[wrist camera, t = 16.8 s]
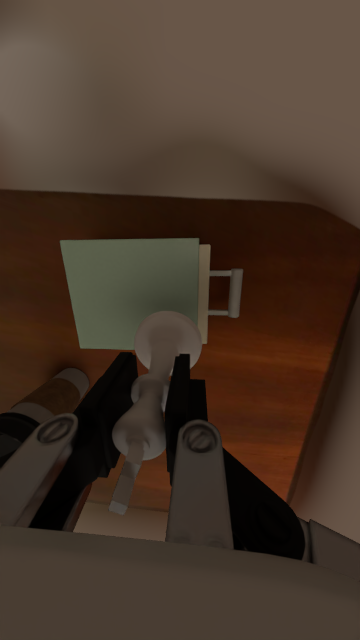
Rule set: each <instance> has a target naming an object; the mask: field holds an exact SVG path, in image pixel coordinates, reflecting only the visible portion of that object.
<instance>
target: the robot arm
mask: <svg viewBox="0 0 360 640" xmlns="http://www.w3.org/2000/svg"><path fill="white" fill-rule="evenodd" d="M137 378H138V372H137V361H136V356H135V355H133V354H132V352H120V354H119V355H118V356H117V357H116V359H115V360H114V361H113V363H112V364H111V365H110V367H109V368H108V369H107V371H106V372H105V373H104V375H103V376H102V377H100V378H99V379H98V381H97V382H96V383H95V385H94V386H93V387H92V389H91V390H90V391H89V392H88V394H87V395H86V396H85V398H84V399H83V400H82V402H81V403H80V404H79V405H78V407H77V408H76V409H75V411H74V412H73V413H72V414H70V413H63V414H59V415H55V416H53V417H51V418H49V419H47V420H45V421H44V422H42V423H41V424H40V425H39V426H38V427H37V428H36V429H35V430H34V431H33V432H32V433H31V435H30V436H29V437H28V438H27V439H26V440H25V441H24V442H23V444H22V445H21V446H20V447H19V448H18V449H16V450H14V451H12V452H10V453H8V454H6V455H4V456H2V457H0V640H360V544H359V543H357V542H355V541H353V540H351V539H349V538H347V537H345V536H343V535H341V534H339V533H337V532H335V531H333V530H331V529H329V528H327V527H325V526H323V525H321V524H319V523H317V522H315V521H313V520H311V519H310V521H309V523H308V522H306V521H305V520H302V519H300V518H299V517H297V516H296V514H295V513H294V511H293V510H292V509H291V508H290V507H289V506H288V504H287V503H286V502H285V501H284V500H282V499H281V498H280V497H279V496H278V495H277V494H276V493H274V492H273V491H272V490H271V489H270V488H269V487H268V486H266V485H265V484H264V483H263V482H262V481H261V480H260V479H258V478H257V477H256V476H255V475H254V474H253V473H252V472H250V471H249V470H248V469H247V468H246V467H245V466H243V465H242V464H241V463H240V462H239V461H238V460H237V459H235V458H234V457H233V456H232V455H231V454H230V453H229V452H227V451H226V450H225V449H224V448H223V447H222V440H221V436H220V432H219V431H218V429H217V428H216V427H215V426H214V425H213V424H211V423H209V422H208V418H207V403H206V388H205V380H197V379H190V354H179V356H175V361H174V366H173V371H172V376H171V381H170V386H169V391H168V396H167V401H166V406H165V434H166V454H167V472H170V485H171V486H172V489H171V497H170V506H169V515H168V523H167V530H166V538H165V542H163V541H153V540H144V539H134V538H124V537H115V536H105V535H95V534H85V533H74V532H73V530H74V528H75V526H76V523H77V521H78V519H79V516H80V514H81V511H82V509H83V507H84V504H85V502H86V500H87V497H88V495H89V493H90V490H91V487H92V482H93V481H95V480H96V479H97V478H98V477H104V478H107V477H108V475H109V472H110V470H111V468H115V466H116V464H117V461H118V459H119V456H120V454H121V452H120V451H119V450H118V449H117V448H116V446H115V444H114V442H113V439H112V430H113V427H114V425H115V424H116V422H117V421H118V420H119V419H120V418H121V416H122V415H123V414H124V413H126V412H127V411H128V410H129V409H130V408H131V407H132V406H133V404H134V403H133V401H132V398H131V387H132V384H133V382H134V381H135V380H136V379H137Z"/></svg>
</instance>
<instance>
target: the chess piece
mask: <svg viewBox="0 0 360 640" xmlns="http://www.w3.org/2000/svg"><path fill="white" fill-rule="evenodd" d="M134 347H135V352H136V354H137V357H138V358H139V360H140V361H141V363H142V364H143V365H144V366H145V367H146V368H148V369H149V373H148V374H145V375H142V376H140V377H138V378H137V379H136V380H135V381H134V382H133V384H132V387H131V398H132V401H133V403H134V404H133V406H132V407H131V408H130V409H129V410H128V411H127V412H126V413H124V414H123V415H122V416H121V418H120V419H119V420H118V421H117V422H116V424H115V425H114V427H113V430H112V439H113V442H114V444H115V446H116V448H117V449H118V450H119V451H120V452H121V453H122V454H124V455H125V456H126V459H125V462H124V465H123V468H122V471H121V473H120V476H119V479H118V481H117V484H116V487H115V490H114V493H113V496H112V500H111V503H110V506H109V509H108V510H109V511H111V512H115V513H118V514H121V515H124V514H125V511H126V509H127V507H128V504H129V500H130V496H131V492H132V489H133V485H134V481H135V478H136V476H137V474H138V471H139V469H140V467H141V463H142V460H149V459H153V458H155V457H157V456H159V455H160V454H161V453H162V452H163V451H164V449H165V448H166V434H165V422H164V417H163V412H165V406H166V401H167V396H168V391H169V386H170V381H169V380H168V378H169V376H170V375H172V371H173V366H174V361H175V356H179V354H190V368H191V367H193V366H194V364H195V363H196V362H197V360H198V358H199V356H200V352H201V348H202V338H201V334H200V331H199V329H198V327H197V326H196V325H195V323H194V322H193V321H192V320H191V319H189V318H188V317H187V316H185V315H183V314H181V313H178V312H174V311H160V312H156V313H153V314H151V315H149V316H148V317H146V318H145V319H144V320H143V321H142V322H141V324H140V325H139V327H138V329H137V332H136V335H135V339H134Z"/></svg>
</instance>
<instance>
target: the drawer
mask: <svg viewBox="0 0 360 640" xmlns="http://www.w3.org/2000/svg"><path fill="white" fill-rule="evenodd" d="M209 276H231V278H230V292H229V306H228V310H208V299H209ZM242 276H243V269H231V271H230V270H226V271H210V245H199V276H198V329H199V331H200V334H201V338H202V344H207V326H208V315H228V316H229V317H233V318H236V317H239V309H240V298H241V287H242Z"/></svg>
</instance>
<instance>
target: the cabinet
mask: <svg viewBox="0 0 360 640" xmlns="http://www.w3.org/2000/svg"><path fill="white" fill-rule="evenodd" d="M60 245H61V250H62V255H63V261H64V266H65V271H66V276H67V281H68V287H69V292H70V297H71V302H72V307H73V312H74V318H75V323H76V328H77V333H78V338H79V344H80V348H90V349H128V350H135V347H134V339H135V335H136V332H137V329H138V327H139V325H140V324H141V322H142V321H143V320H144V319H145V318H146V317H148V316H149V315H151V314H153V313H156V312H160V311H174V312H178V313H181V314H183V315H185V316H187V317H188V318H189V319H191V320H192V321H193V322H194V323H195V325H196V326H197V327H198V276H199V238H167V239H106V240H60Z"/></svg>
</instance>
